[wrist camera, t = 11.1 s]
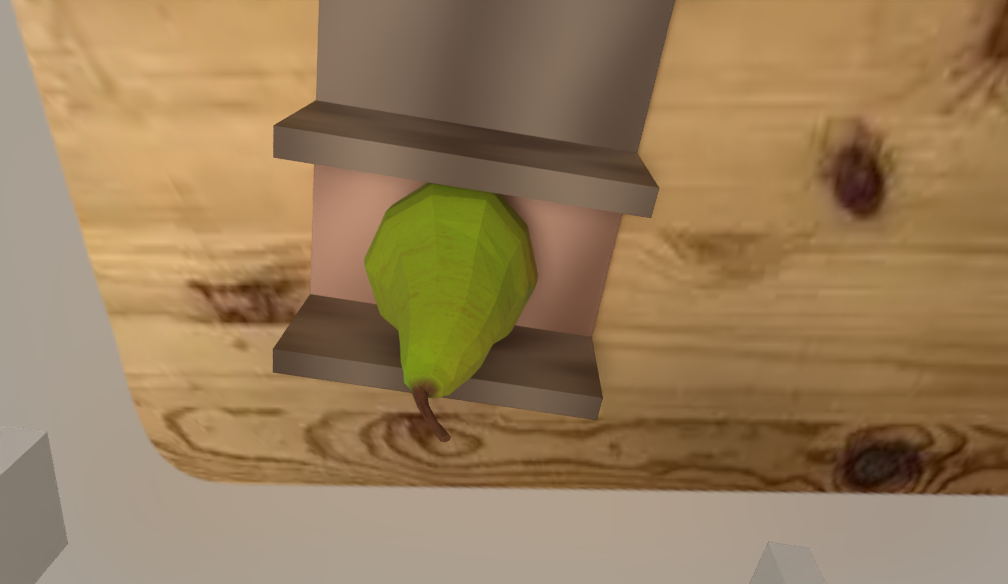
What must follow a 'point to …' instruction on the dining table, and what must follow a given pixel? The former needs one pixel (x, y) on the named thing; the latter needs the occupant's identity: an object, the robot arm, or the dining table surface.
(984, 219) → the dining table surface
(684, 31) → the dining table surface
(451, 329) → the fruit
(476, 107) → the rack
